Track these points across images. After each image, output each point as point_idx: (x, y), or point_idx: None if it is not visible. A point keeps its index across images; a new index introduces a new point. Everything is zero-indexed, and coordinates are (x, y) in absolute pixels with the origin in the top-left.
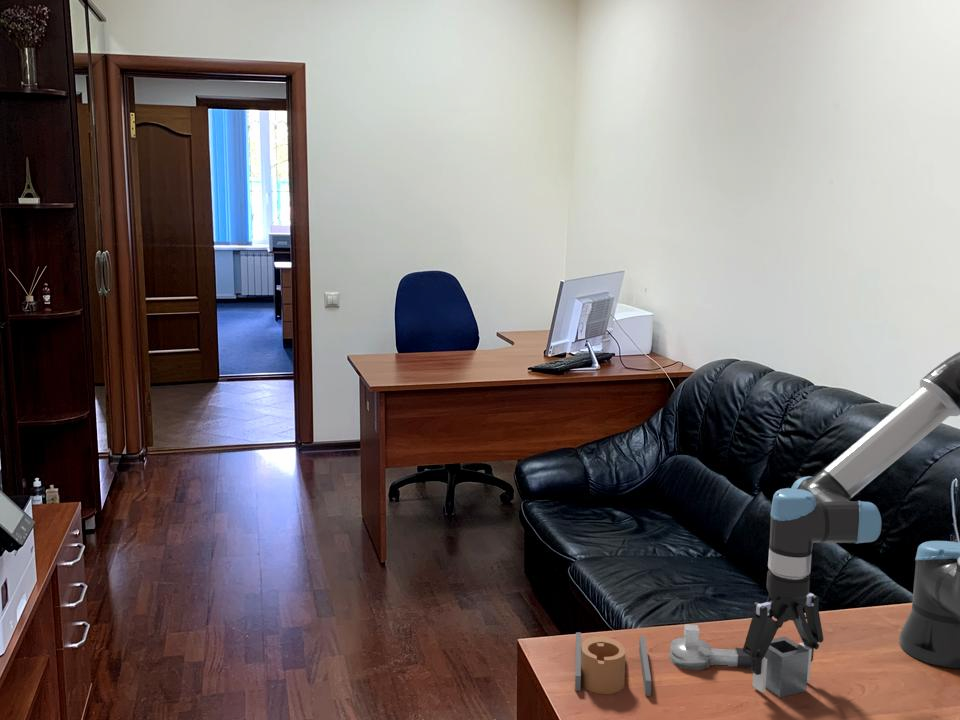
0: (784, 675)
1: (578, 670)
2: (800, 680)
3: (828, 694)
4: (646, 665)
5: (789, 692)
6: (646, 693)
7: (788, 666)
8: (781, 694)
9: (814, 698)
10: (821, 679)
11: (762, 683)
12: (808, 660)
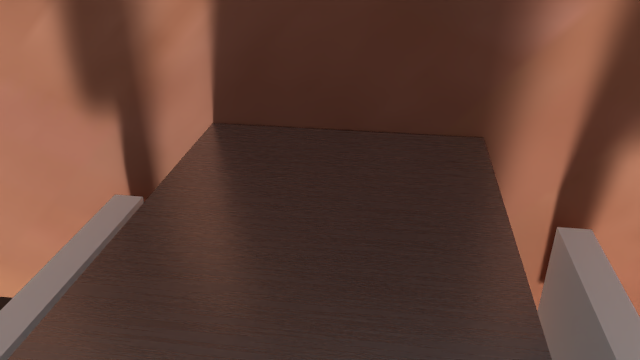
0: (463, 236)
1: None
2: (253, 170)
3: (77, 11)
4: None
5: (382, 141)
6: None
7: (412, 296)
8: (467, 147)
9: (225, 11)
10: (11, 186)
11: (614, 279)
12: (40, 306)
